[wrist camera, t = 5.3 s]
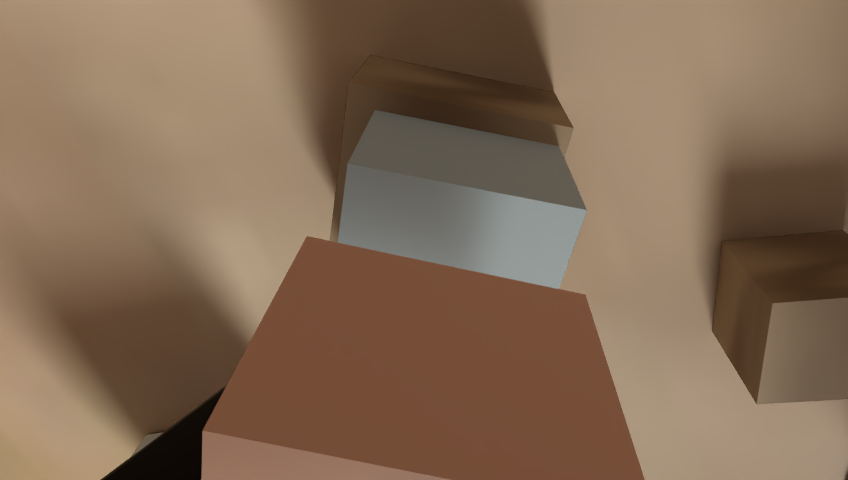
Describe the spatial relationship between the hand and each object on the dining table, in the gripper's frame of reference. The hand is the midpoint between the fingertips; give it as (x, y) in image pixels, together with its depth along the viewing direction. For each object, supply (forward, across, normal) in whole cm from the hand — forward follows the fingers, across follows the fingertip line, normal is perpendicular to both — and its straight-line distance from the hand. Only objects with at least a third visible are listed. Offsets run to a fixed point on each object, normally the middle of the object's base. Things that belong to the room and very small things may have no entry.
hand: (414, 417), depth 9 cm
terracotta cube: (+1, 0, 0) cm, 1 cm away
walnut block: (+12, -13, +2) cm, 18 cm away
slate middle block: (+8, 0, 0) cm, 8 cm away
